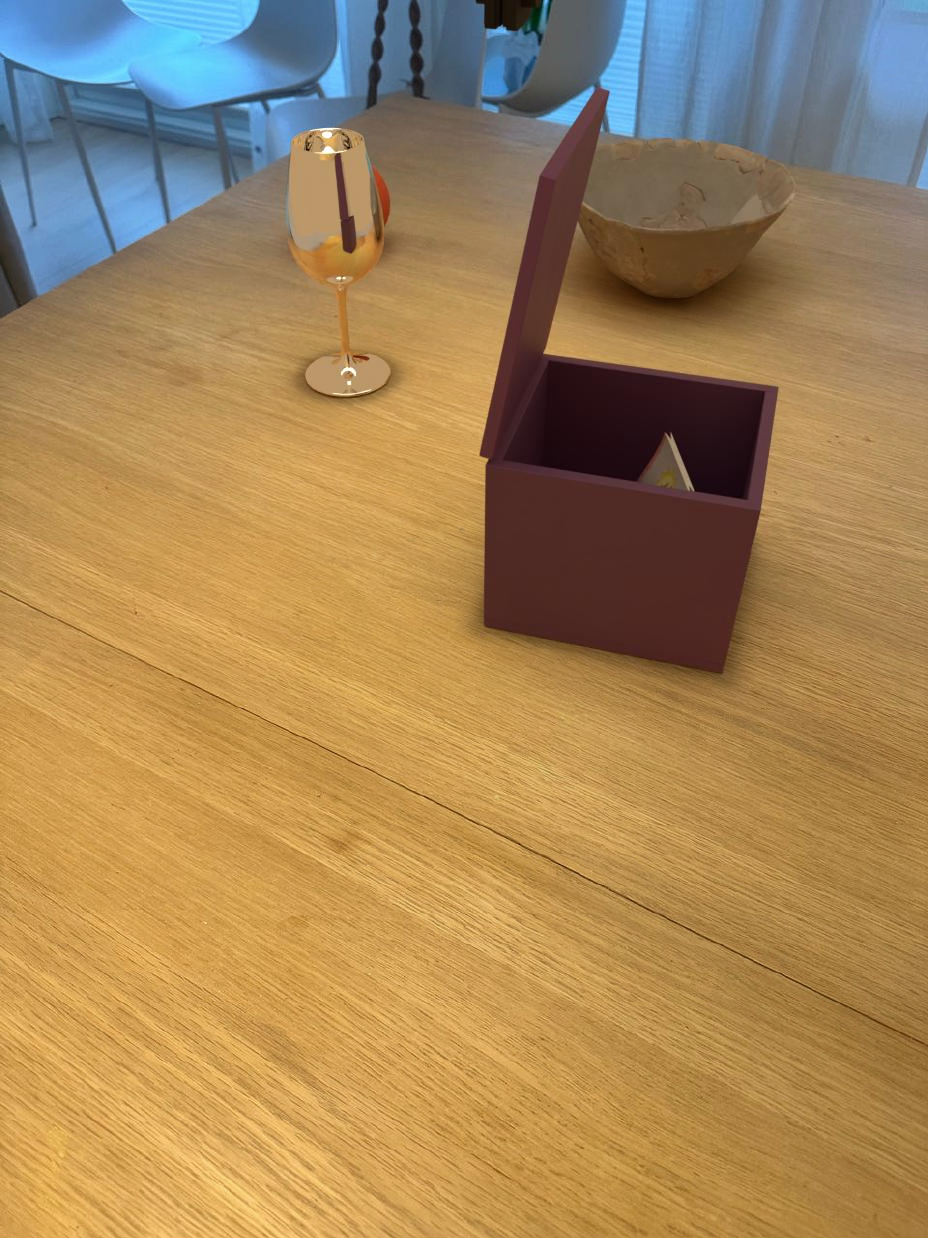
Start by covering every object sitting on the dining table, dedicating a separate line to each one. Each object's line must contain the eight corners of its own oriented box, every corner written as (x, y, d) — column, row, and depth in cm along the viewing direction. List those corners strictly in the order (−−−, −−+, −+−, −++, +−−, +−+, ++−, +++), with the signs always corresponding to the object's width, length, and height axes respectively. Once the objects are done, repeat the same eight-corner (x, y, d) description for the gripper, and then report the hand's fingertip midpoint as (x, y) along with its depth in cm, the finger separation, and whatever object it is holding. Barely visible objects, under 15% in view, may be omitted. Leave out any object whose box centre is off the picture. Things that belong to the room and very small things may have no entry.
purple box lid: (610, 89, 58) (596, 86, 58) (556, 178, 49) (539, 174, 49) (545, 348, 70) (534, 344, 70) (491, 460, 60) (478, 456, 60)
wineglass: (333, 346, 97) (311, 116, 83) (408, 365, 94) (397, 131, 81) (286, 386, 92) (255, 148, 78) (364, 406, 89) (345, 164, 76)
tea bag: (676, 552, 74) (697, 430, 67) (699, 618, 69) (724, 493, 62) (624, 555, 73) (640, 432, 67) (643, 621, 68) (663, 496, 62)
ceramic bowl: (542, 322, 100) (547, 218, 93) (568, 225, 117) (574, 130, 110) (780, 341, 97) (804, 235, 90) (772, 239, 114) (791, 142, 107)
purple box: (743, 543, 76) (779, 385, 67) (722, 674, 66) (760, 510, 57) (532, 506, 79) (540, 352, 70) (483, 626, 69) (485, 464, 61)
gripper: (295, -541, 38) (336, 31, 50) (717, -554, 35) (648, 58, 47) (367, -520, 43) (388, -7, 55) (739, -530, 40) (672, 15, 52)
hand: (508, 21), depth 51 cm, fingers closed
